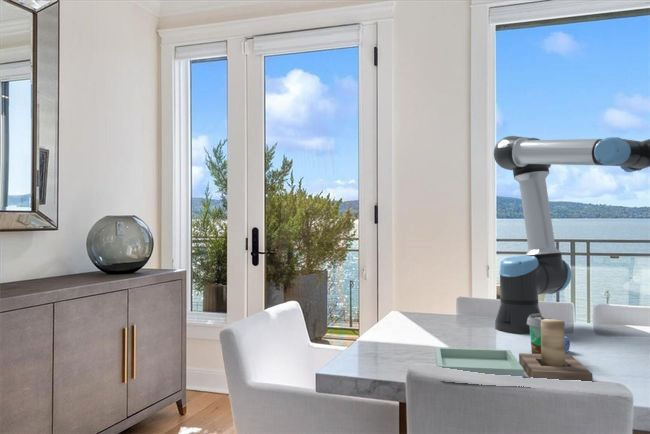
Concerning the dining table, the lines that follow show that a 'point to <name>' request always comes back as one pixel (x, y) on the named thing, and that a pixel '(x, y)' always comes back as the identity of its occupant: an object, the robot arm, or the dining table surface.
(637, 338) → the dining table surface
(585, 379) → the dowel block
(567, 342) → the decorative dice
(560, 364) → the dowel
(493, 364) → the tray
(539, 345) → the food container
